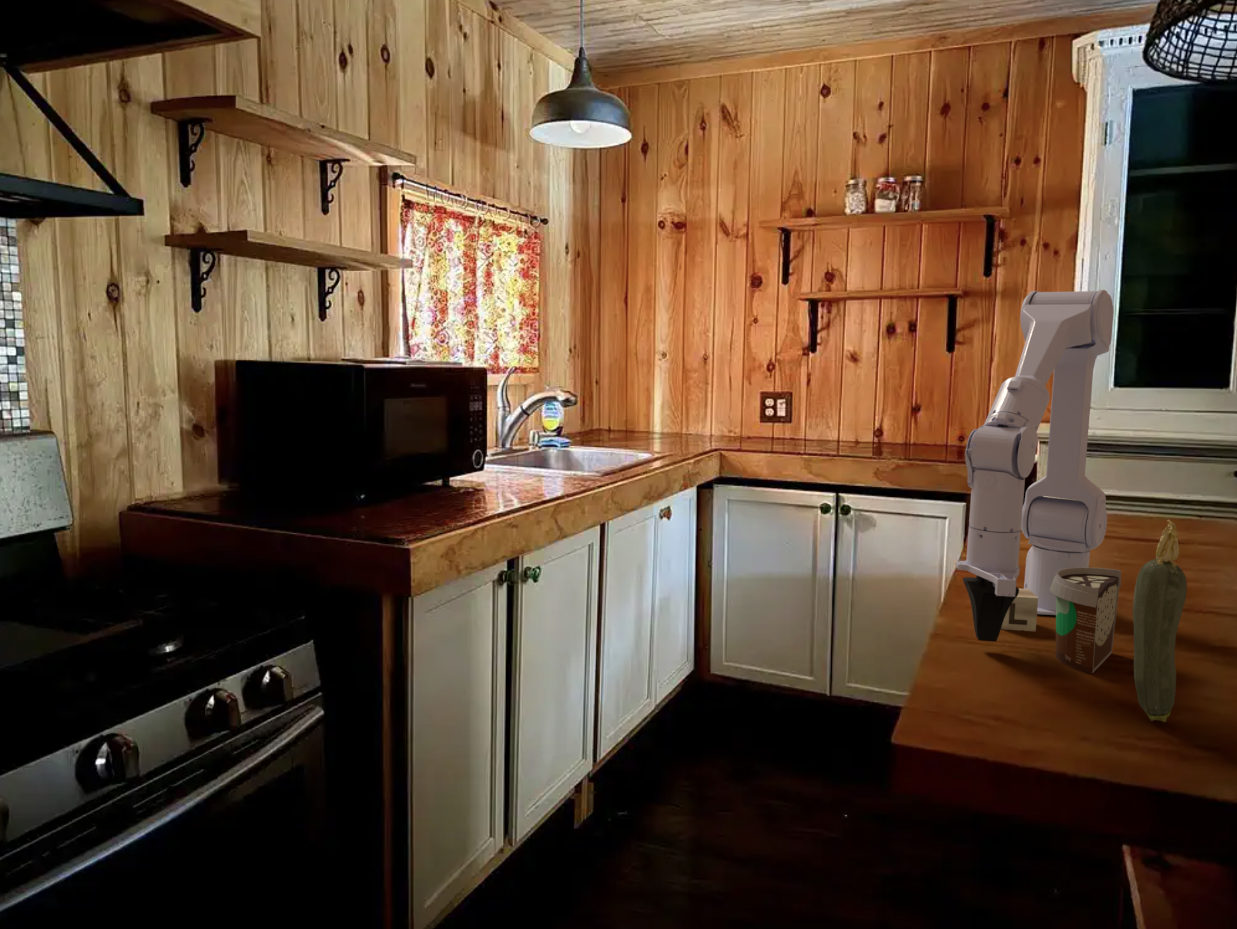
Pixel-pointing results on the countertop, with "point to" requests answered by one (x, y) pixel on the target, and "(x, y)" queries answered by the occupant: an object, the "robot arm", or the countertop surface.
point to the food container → (1085, 615)
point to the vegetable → (1158, 626)
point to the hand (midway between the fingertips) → (986, 639)
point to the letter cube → (1022, 612)
